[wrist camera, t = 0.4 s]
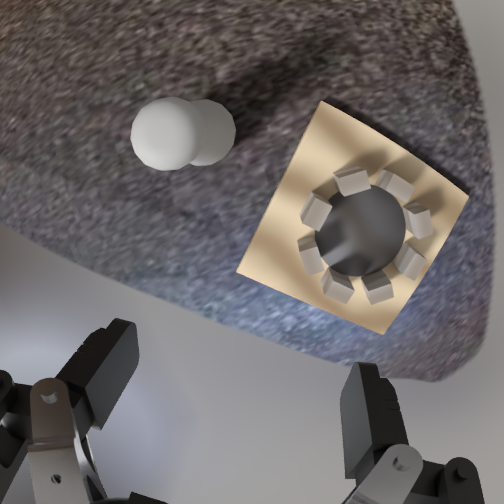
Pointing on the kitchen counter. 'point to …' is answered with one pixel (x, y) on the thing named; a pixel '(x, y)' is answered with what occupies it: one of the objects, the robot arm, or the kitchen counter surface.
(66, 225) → the kitchen counter surface
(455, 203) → the stonehenge model
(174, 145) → the salt shaker
